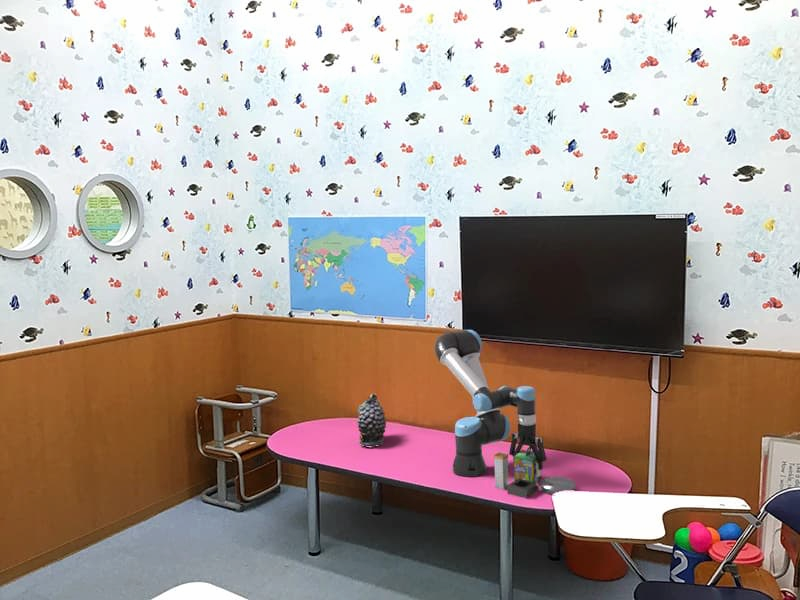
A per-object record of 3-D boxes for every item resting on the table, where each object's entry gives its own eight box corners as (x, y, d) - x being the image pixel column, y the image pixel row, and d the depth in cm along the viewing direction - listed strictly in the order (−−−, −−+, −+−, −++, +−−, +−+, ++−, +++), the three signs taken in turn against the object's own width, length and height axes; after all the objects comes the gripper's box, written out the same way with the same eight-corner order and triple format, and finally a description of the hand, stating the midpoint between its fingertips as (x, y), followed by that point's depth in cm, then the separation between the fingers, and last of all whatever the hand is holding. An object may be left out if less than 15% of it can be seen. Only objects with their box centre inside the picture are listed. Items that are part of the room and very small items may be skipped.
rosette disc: (534, 490, 286) (534, 484, 285) (550, 480, 296) (550, 474, 296) (565, 498, 276) (565, 492, 276) (581, 487, 287) (581, 481, 287)
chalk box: (522, 474, 304) (521, 441, 302) (542, 478, 299) (541, 444, 297) (513, 481, 296) (512, 448, 294) (534, 485, 291) (533, 451, 289)
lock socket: (507, 493, 284) (507, 485, 284) (519, 486, 291) (518, 478, 290) (526, 498, 278) (526, 490, 278) (537, 491, 285) (537, 482, 285)
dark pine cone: (359, 437, 367) (357, 390, 364) (388, 436, 367) (385, 389, 364) (355, 450, 347) (353, 401, 344) (385, 449, 346) (383, 400, 343)
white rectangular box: (494, 487, 291) (493, 455, 289) (500, 484, 294) (499, 452, 292) (503, 489, 288) (502, 457, 286) (509, 486, 291) (508, 454, 290)
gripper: (499, 421, 299) (501, 471, 302) (545, 429, 285) (547, 482, 287) (508, 417, 305) (510, 466, 307) (554, 424, 290) (555, 476, 293)
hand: (528, 473), depth 297 cm, fingers closed on chalk box, 9 cm apart
